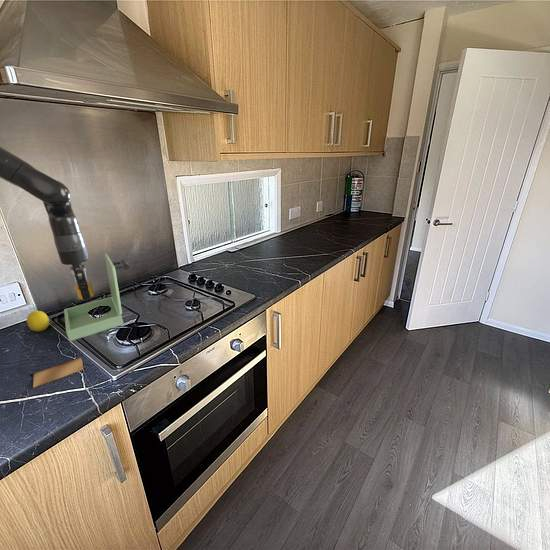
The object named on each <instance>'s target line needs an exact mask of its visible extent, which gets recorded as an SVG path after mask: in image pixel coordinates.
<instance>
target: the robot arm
mask: <svg viewBox="0 0 550 550" xmlns="http://www.w3.org/2000/svg"><path fill="white" fill-rule="evenodd" d="M0 179H2V180H3V181H6V182H8V184H9V183H10V184H11V185H14V186H16V187H18V188H20V189H22V190H23V191H25V192H27V193H28V194H30V195H31V196H33V197H34V198H36V199H38V200H40V201H41V202H42V203H43V206H44V209H45V211H46V214H47V216H48V223H49V226H50V230H51V233H52V236H53V241H54V245H55V248H56V251H57V254H58V257H59V258H58V259H59V261H60V264H62V265H65V266H69V265H71V266H69V269H70V270H69V271H70V273H71V275H72V276H73V279H74V283H77V284H78V288H79V290H80V291H81V294H82V298H83V299H82V300H84V301H85V300H88V299H91V298H92V297H91V296H90V293H89V290H88V287H89V286H88V285H87V282H86V281H87V280H89V279H88V276H87V269H86V266H85V264H84V263H85V262H87V261H89V258H90V257H89V254H88V253H89V252H88V250H87V246H86V244H85V243H86V242H85V239H84V236H83V234H82V232H81V228H80V225H79V221H78V219H77V216H76V215H75V213H74V209H73V205H72V202H71V201H72V200H71V192H70V190H69V188H68V187H67V185H65V184H64V183H63V182H61V181H59V180H56V179H55V178H53V177H51V176H49V175H48V174H46V173H44V172H42V171H40V170H38V169H37V168H35V167H34V166H33V165H31V164H30V163H29V162H27V161H26V160H23V159H22V158H20V157H19V156H17V155H15V154H13V153H12V152H10V151H8V150H7V149H5V148H3V147H2V146H0ZM82 283H85V284H86V285H81V286H80V284H82ZM90 297H91V298H90Z"/></svg>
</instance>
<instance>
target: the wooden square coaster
mask: <svg viewBox="0 0 550 550" xmlns="http://www.w3.org/2000/svg"><path fill="white" fill-rule="evenodd" d="M81 371H84V363H83V358H82V356H80V357H77V358H74V359H71V360H69V361H65V362H61V363H60V364H57V365H53V366H51V367H48V368H45V369H42V370H39V371H36V372H34V373H33V381H32V382H33V384H32V388H37V387H40V386H42V385H45V384H48V383H50V382H54V381H56V380H59V379H62V378H64V377H68V376H70V375H72V374H75V373H78V372H81Z"/></svg>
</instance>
